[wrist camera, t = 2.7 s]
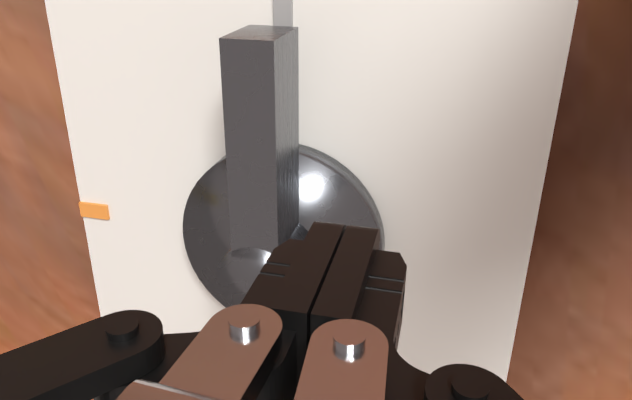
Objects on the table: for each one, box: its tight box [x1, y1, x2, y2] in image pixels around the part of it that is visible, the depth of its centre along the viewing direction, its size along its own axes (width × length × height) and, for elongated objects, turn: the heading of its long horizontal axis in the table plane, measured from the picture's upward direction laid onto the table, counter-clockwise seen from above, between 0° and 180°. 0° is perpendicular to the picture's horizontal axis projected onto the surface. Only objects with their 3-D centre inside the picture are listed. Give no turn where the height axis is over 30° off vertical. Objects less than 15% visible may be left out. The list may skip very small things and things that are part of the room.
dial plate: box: [45, 0, 578, 382], centre depth 36 cm, size 28×28×2 cm
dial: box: [183, 25, 385, 308], centre depth 32 cm, size 18×12×6 cm, turn 179°
